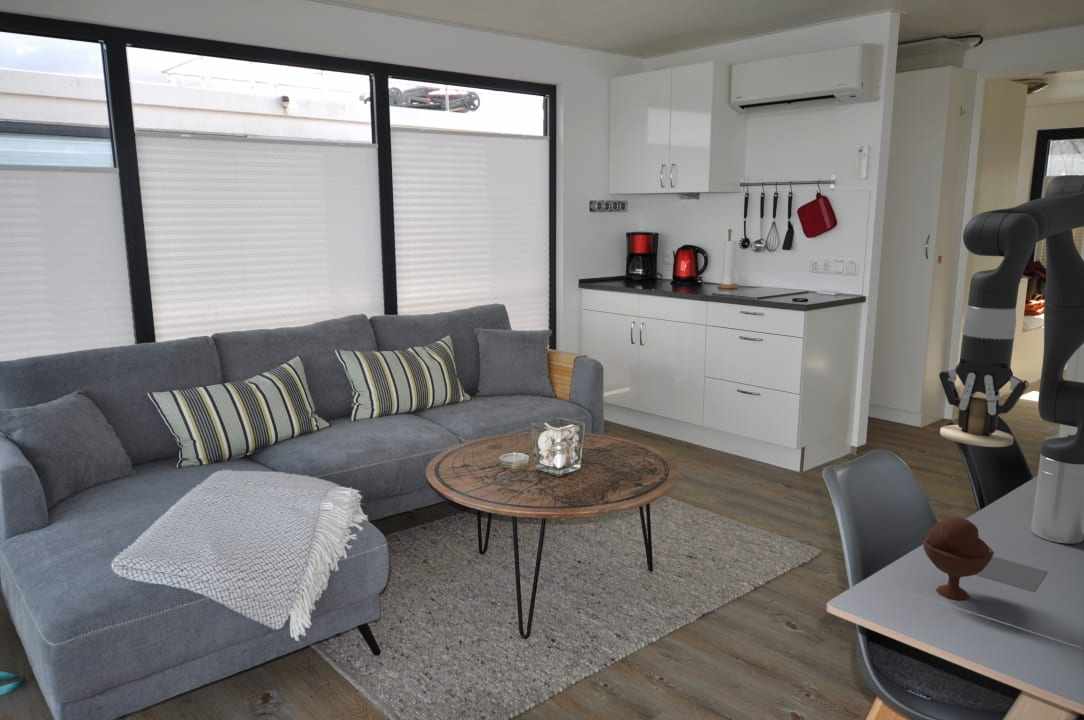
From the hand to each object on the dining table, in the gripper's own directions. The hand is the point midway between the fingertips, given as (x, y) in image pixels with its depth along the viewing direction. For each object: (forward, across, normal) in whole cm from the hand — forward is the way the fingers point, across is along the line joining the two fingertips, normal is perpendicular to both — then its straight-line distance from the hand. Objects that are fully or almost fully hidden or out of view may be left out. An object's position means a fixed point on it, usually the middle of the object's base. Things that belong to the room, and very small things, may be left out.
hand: (976, 432), depth 132 cm
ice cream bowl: (+30, 0, +1) cm, 30 cm away
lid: (+1, 0, 0) cm, 1 cm away
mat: (+30, -4, -15) cm, 34 cm away
